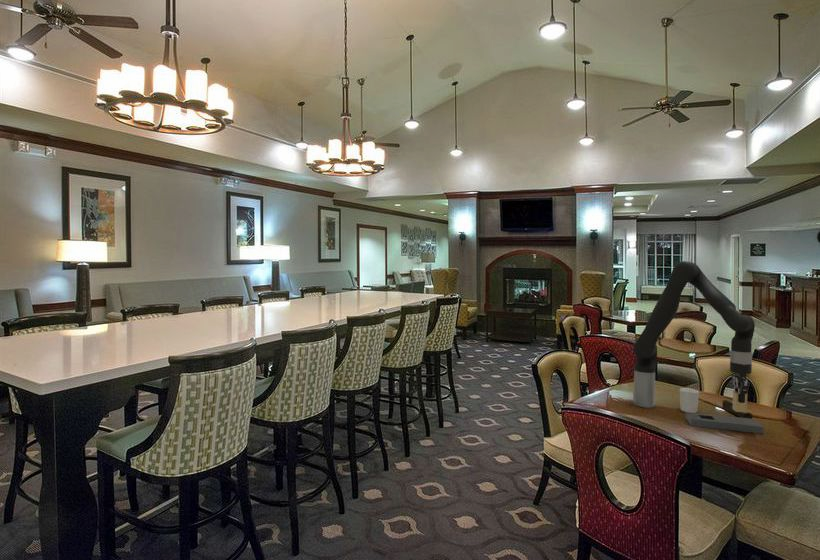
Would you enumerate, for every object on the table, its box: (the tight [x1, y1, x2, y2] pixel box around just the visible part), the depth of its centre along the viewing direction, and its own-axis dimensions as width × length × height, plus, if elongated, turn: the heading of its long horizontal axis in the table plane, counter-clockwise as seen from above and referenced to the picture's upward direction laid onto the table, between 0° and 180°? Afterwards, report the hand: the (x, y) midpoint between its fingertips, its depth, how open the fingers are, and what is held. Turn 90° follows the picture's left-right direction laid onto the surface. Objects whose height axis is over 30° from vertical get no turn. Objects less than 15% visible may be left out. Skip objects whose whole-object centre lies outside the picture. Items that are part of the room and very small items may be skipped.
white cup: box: [679, 387, 700, 413], centre depth 214 cm, size 8×8×10 cm
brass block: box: [732, 390, 748, 413], centre depth 192 cm, size 4×4×8 cm
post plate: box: [685, 412, 764, 435], centre depth 194 cm, size 26×10×3 cm, turn 70°
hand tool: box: [721, 399, 753, 419], centre depth 209 cm, size 19×4×5 cm, turn 172°
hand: (739, 400), depth 192 cm, fingers closed on brass block, 4 cm apart
